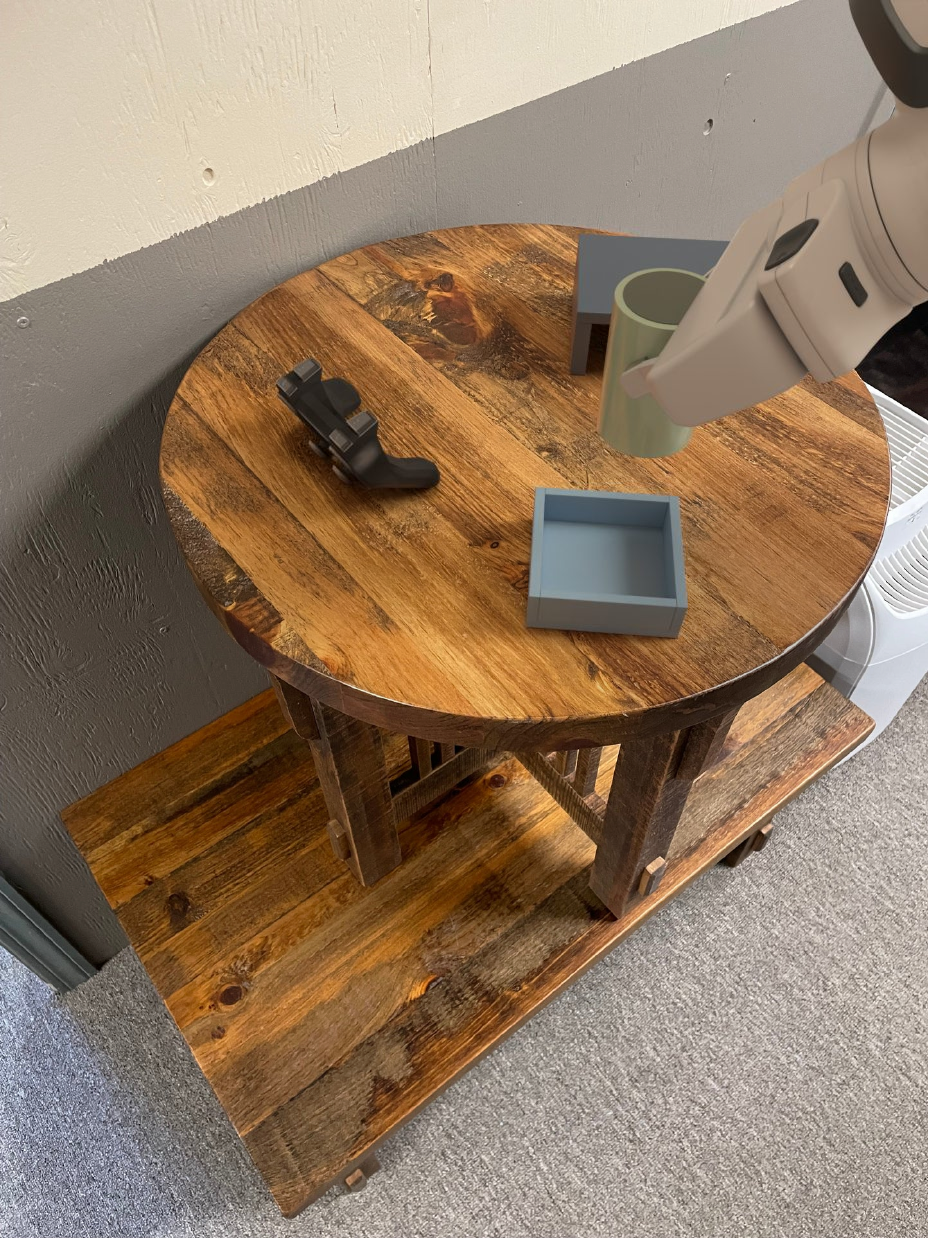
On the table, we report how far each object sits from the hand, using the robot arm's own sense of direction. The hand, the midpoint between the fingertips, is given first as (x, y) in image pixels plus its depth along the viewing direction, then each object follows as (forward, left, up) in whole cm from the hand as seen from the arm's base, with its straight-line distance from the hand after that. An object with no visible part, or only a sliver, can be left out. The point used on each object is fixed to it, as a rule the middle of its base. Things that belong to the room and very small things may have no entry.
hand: (650, 349), depth 56 cm
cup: (-1, 0, -6) cm, 6 cm away
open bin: (+1, +3, -19) cm, 20 cm away
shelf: (-5, -30, -19) cm, 36 cm away
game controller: (+23, -9, -19) cm, 31 cm away
